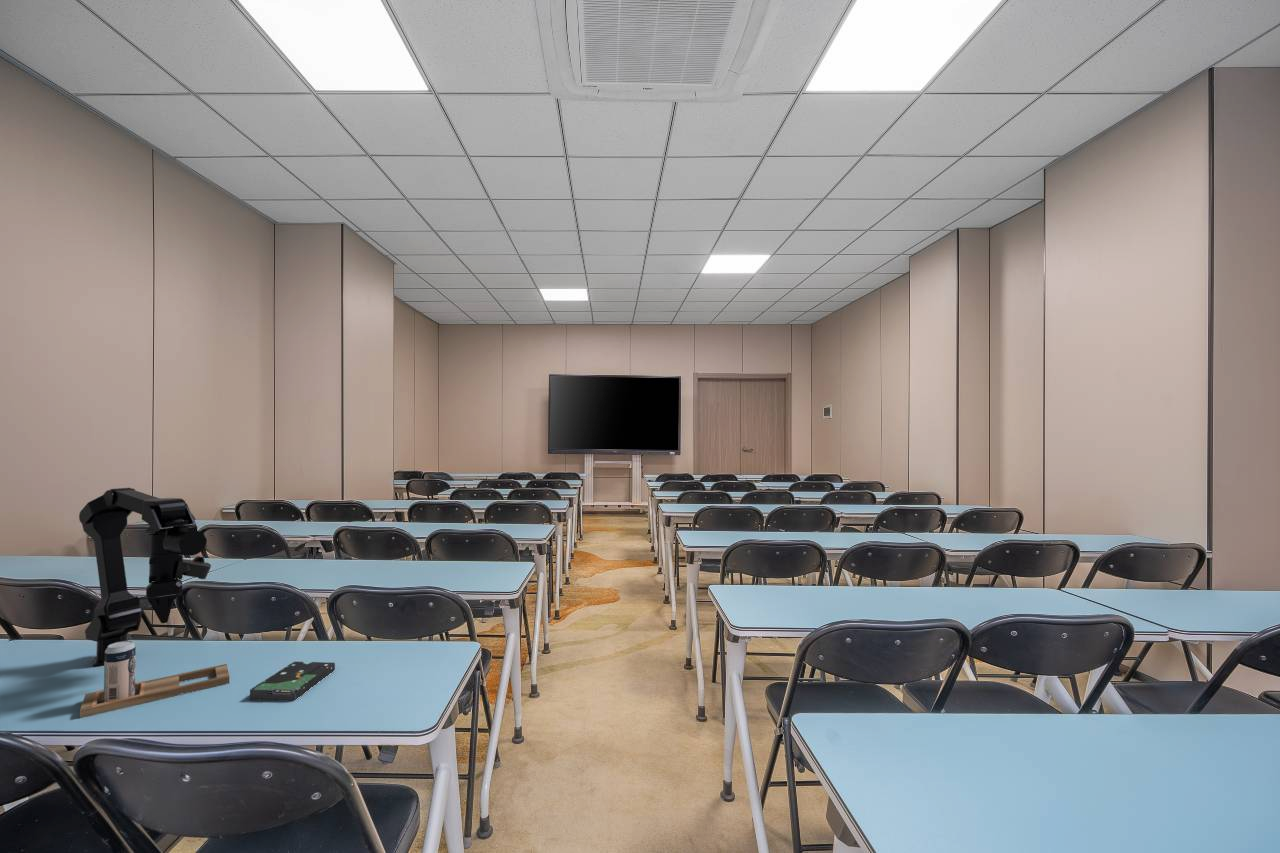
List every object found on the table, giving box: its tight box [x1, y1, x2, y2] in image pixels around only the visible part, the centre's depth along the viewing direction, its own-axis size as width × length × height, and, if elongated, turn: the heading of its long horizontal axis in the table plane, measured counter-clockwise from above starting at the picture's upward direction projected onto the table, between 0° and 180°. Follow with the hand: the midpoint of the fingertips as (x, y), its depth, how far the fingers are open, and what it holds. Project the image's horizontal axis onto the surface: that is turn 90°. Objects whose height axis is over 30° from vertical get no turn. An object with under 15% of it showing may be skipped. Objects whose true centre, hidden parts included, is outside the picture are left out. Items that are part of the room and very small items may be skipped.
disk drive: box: [249, 661, 336, 701], centre depth 125 cm, size 10×3×15 cm
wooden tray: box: [79, 663, 230, 719], centre depth 121 cm, size 9×24×2 cm, turn 130°
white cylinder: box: [103, 640, 137, 703], centre depth 117 cm, size 5×5×12 cm
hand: (164, 617), depth 130 cm, fingers open, 9 cm apart
